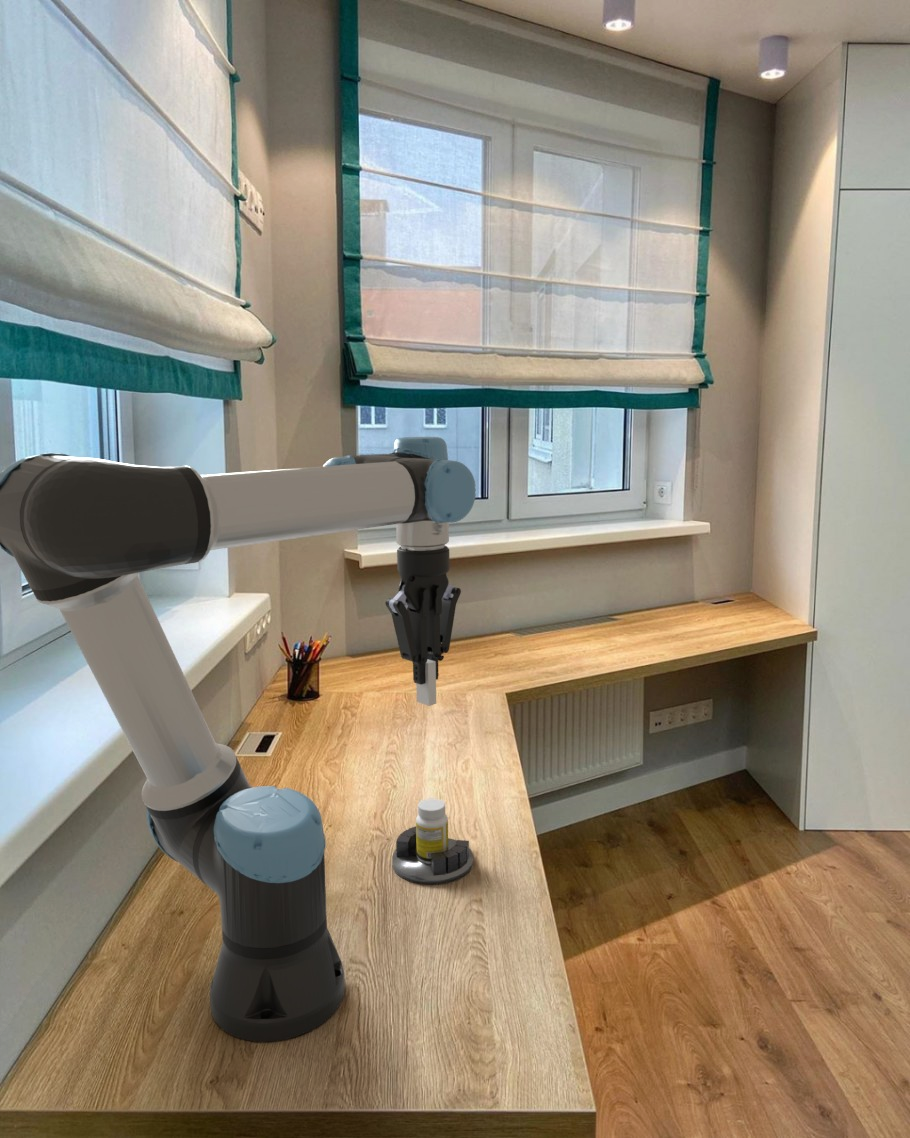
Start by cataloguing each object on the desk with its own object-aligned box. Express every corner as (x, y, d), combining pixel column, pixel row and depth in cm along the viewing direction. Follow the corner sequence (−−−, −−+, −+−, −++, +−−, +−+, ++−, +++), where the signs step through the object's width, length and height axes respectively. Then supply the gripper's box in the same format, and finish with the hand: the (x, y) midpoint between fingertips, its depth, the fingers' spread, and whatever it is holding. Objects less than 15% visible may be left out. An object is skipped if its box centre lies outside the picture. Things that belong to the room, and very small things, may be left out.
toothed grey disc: (432, 894, 120) (432, 871, 120) (375, 863, 129) (375, 842, 128) (489, 861, 129) (489, 839, 128) (433, 834, 137) (432, 814, 136)
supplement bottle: (431, 845, 132) (430, 794, 130) (455, 855, 129) (454, 802, 127) (409, 858, 128) (408, 805, 127) (434, 868, 125) (433, 814, 124)
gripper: (405, 554, 117) (410, 720, 121) (473, 543, 126) (475, 697, 130) (370, 548, 122) (376, 707, 127) (438, 537, 131) (441, 686, 136)
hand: (426, 702), depth 129 cm, fingers closed
